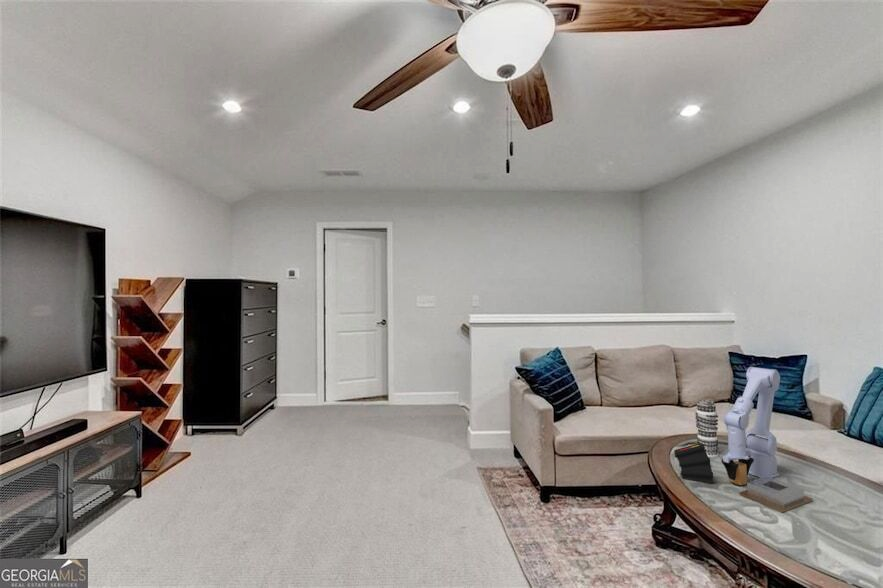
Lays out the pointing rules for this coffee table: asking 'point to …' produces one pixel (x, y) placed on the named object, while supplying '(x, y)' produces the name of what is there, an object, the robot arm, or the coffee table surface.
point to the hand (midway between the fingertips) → (738, 477)
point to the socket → (775, 494)
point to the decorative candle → (707, 426)
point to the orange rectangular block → (740, 474)
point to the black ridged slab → (694, 463)
